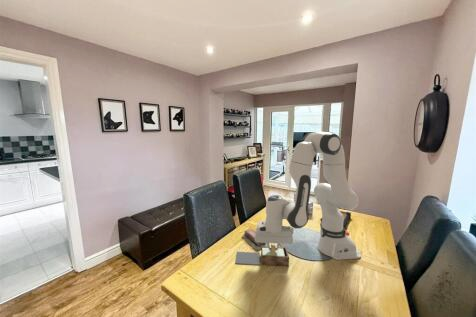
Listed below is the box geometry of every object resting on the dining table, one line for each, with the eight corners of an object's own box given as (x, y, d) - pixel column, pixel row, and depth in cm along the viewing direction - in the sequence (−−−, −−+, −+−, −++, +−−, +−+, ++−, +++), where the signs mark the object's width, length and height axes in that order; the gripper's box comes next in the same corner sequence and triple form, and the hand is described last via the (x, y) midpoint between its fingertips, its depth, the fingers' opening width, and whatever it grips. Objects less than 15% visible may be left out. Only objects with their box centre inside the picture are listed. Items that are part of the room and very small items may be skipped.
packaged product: (241, 230, 131) (254, 226, 135) (241, 237, 131) (254, 233, 136) (256, 243, 115) (270, 239, 120) (256, 251, 116) (270, 246, 120)
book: (327, 213, 169) (327, 207, 168) (350, 218, 158) (350, 212, 158) (318, 224, 148) (319, 218, 147) (344, 232, 138) (345, 225, 137)
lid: (283, 249, 110) (283, 241, 109) (284, 257, 103) (285, 249, 103) (262, 248, 111) (262, 240, 110) (262, 256, 104) (262, 247, 104)
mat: (259, 253, 113) (259, 252, 113) (260, 265, 103) (260, 264, 103) (237, 252, 114) (237, 251, 114) (235, 263, 105) (235, 263, 105)
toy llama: (307, 217, 160) (309, 193, 157) (293, 209, 175) (294, 187, 172) (314, 215, 163) (316, 192, 160) (299, 208, 178) (300, 186, 176)
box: (286, 255, 112) (286, 247, 111) (288, 266, 103) (289, 257, 102) (261, 254, 113) (261, 245, 112) (261, 264, 104) (262, 256, 103)
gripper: (292, 223, 107) (291, 247, 109) (254, 222, 109) (254, 245, 111) (294, 229, 101) (293, 254, 103) (254, 227, 103) (254, 252, 105)
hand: (273, 249), depth 107 cm, fingers closed on lid
